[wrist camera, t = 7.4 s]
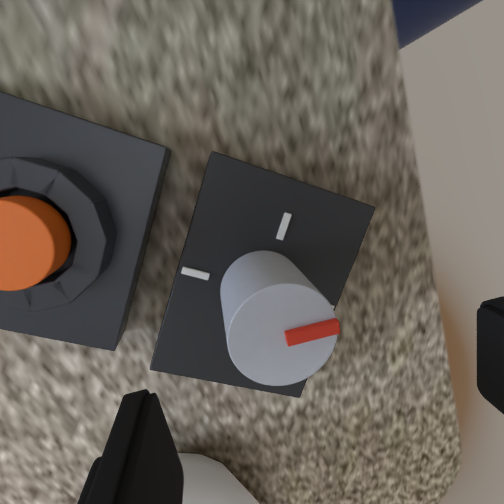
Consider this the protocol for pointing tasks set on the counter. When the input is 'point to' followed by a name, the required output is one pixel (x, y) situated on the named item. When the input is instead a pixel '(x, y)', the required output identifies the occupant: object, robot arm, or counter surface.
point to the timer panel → (246, 241)
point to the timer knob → (275, 320)
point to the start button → (30, 241)
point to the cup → (211, 482)
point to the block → (80, 218)
